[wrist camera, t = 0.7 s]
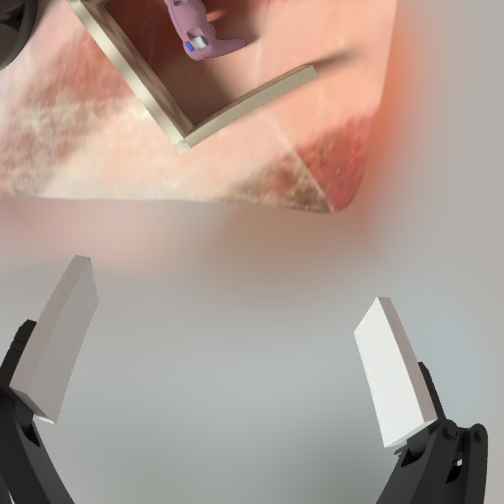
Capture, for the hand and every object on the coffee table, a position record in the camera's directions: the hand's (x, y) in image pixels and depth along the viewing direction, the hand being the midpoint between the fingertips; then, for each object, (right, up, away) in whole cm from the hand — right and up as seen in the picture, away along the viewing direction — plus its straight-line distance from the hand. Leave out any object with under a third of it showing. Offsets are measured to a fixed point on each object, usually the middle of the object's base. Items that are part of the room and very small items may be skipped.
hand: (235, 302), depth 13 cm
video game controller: (-4, +27, +11) cm, 30 cm away
